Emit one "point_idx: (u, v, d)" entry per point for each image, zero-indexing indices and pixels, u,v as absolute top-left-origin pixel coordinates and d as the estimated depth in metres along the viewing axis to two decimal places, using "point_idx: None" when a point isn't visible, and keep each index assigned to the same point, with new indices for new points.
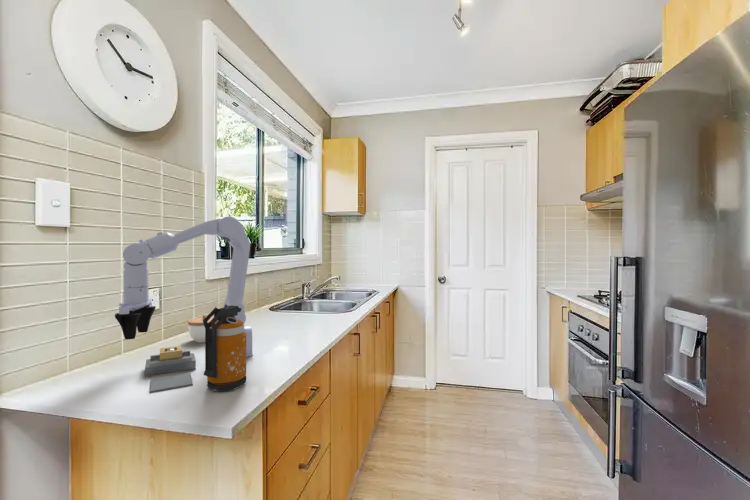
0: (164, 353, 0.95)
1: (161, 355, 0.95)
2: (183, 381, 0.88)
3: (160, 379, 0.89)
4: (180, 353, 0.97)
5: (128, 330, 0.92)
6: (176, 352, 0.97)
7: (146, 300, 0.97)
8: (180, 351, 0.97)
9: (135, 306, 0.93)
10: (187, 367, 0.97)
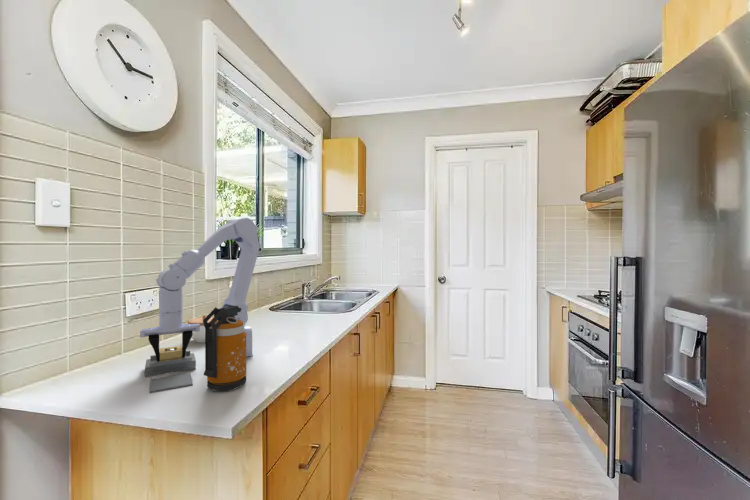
0: (164, 353, 0.95)
1: (161, 355, 0.95)
2: (183, 381, 0.88)
3: (160, 379, 0.89)
4: (180, 353, 0.97)
5: None
6: (176, 352, 0.97)
7: (168, 327, 0.96)
8: (180, 351, 0.97)
9: (152, 331, 0.95)
10: (187, 367, 0.97)
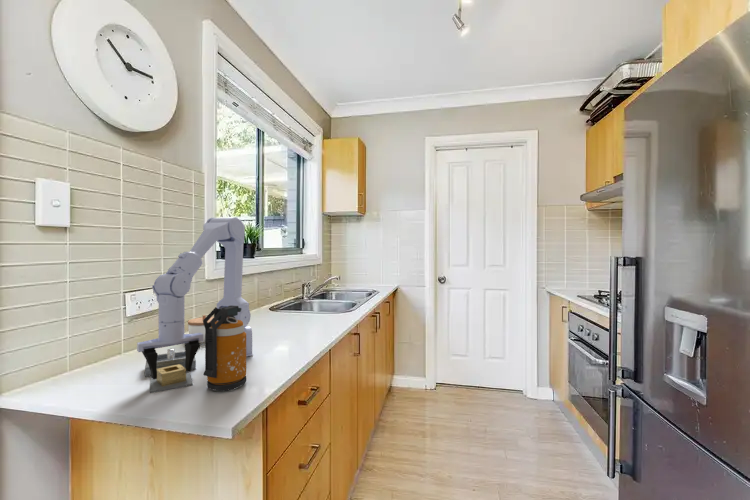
0: (166, 374, 0.85)
1: (163, 376, 0.85)
2: (183, 381, 0.88)
3: None
4: (184, 372, 0.88)
5: (151, 368, 0.85)
6: (179, 371, 0.87)
7: (172, 338, 0.86)
8: (184, 370, 0.88)
9: (153, 344, 0.84)
10: None
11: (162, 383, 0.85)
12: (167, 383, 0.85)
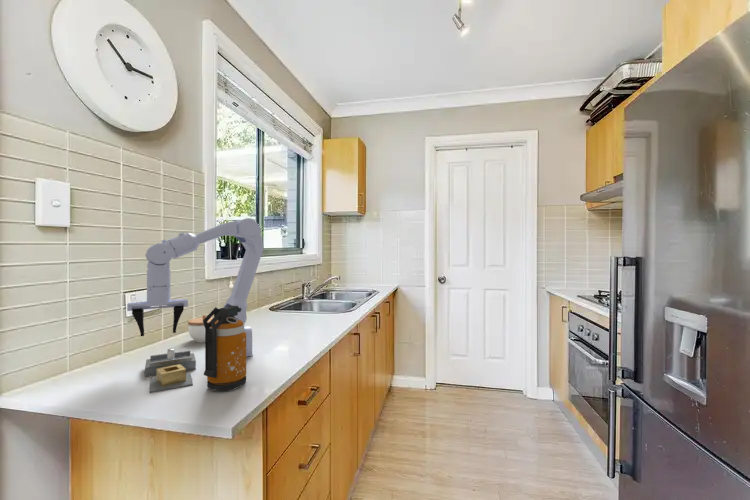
0: (166, 374, 0.85)
1: (163, 376, 0.85)
2: (183, 381, 0.88)
3: None
4: (184, 372, 0.88)
5: None
6: (179, 371, 0.87)
7: (156, 300, 0.96)
8: (184, 370, 0.88)
9: (139, 305, 0.95)
10: (187, 367, 0.97)
11: (162, 383, 0.85)
12: (167, 383, 0.85)
